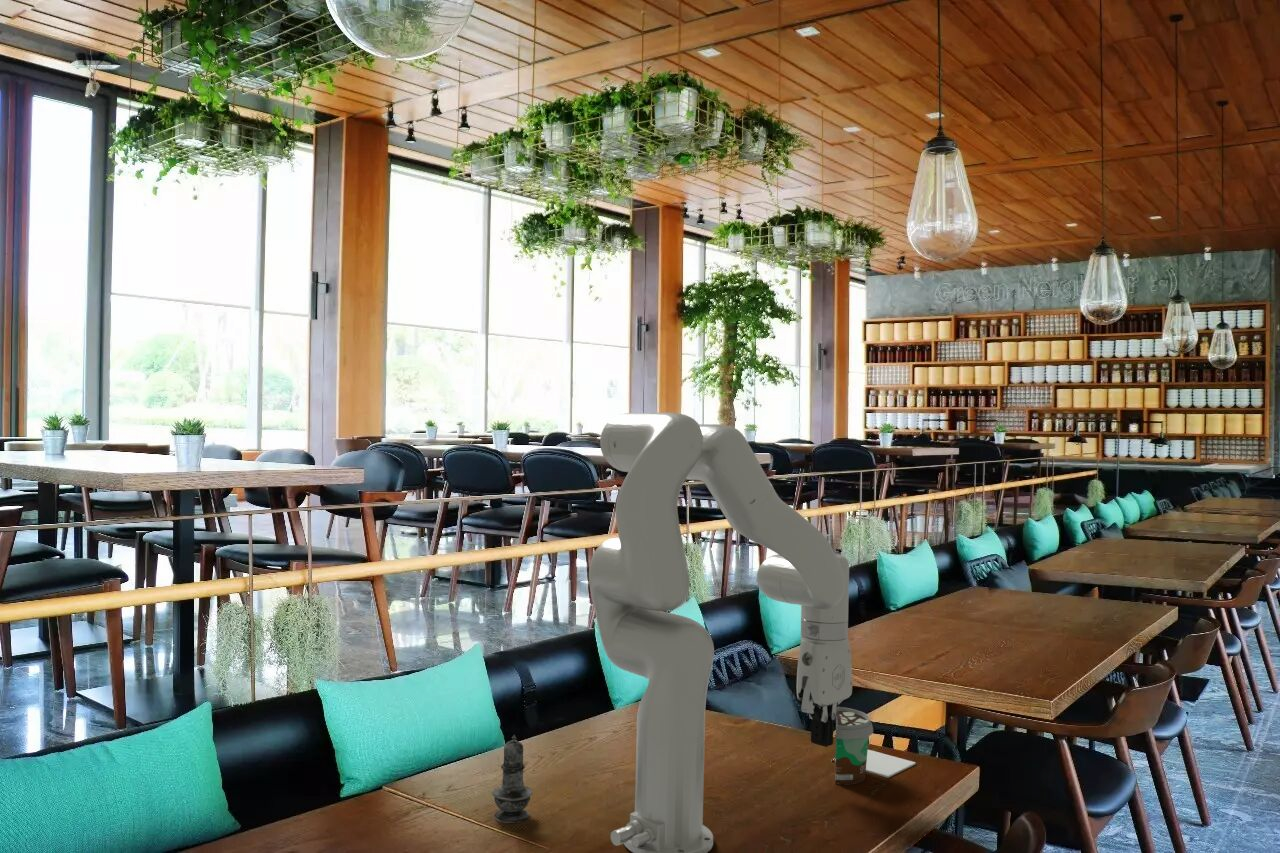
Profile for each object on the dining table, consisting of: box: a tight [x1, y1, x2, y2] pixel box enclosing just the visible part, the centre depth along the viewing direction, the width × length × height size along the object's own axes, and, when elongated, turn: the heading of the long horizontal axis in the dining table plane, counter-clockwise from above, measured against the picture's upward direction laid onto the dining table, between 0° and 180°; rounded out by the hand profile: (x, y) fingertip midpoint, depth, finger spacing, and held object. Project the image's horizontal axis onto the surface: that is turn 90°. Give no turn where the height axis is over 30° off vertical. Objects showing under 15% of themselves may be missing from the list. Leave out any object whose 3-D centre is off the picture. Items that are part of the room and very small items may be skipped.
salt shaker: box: [492, 734, 533, 824], centre depth 139 cm, size 6×6×12 cm
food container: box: [834, 706, 874, 785], centre depth 160 cm, size 12×6×10 cm, turn 168°
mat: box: [832, 749, 917, 779], centre depth 166 cm, size 10×11×1 cm
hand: (821, 743), depth 152 cm, fingers closed
